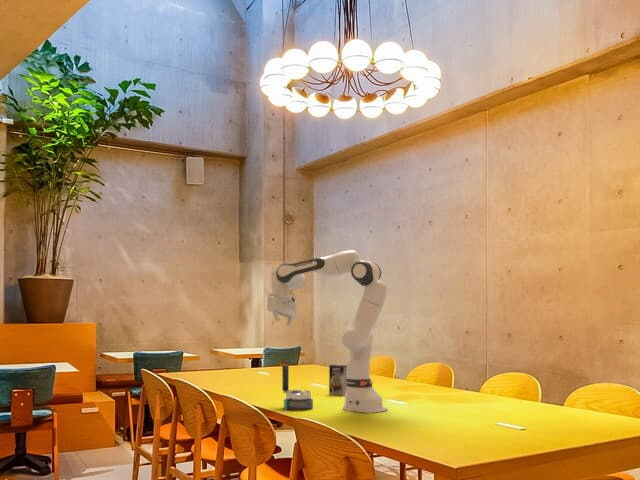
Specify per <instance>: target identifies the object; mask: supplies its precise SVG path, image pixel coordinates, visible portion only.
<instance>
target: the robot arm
mask: <svg viewBox="0 0 640 480" xmlns="http://www.w3.org/2000/svg"><path fill="white" fill-rule="evenodd" d="M308 273H317V274H320V275H324V276H327V277H331V278H332V277H334V278H335V277H340V276H342V275H346V274H348V273H350V274H351V276H352V278H353V279H354V280H355V282H357V283H358V284H360V285H361V286H362V287H364V290H363V293H362V295H361V299H360V302H359V303H358V307H357V309H356V311H355V314H354V315H353V317H352V319H351V321H350V322H349V324H348V326H347V328H346V330H345V331H344V332H343V334H342V336H341V342H342V345H343V346H344V348H345V349H347V350H349V354H348V359H347V361H346V365H347V378H346V386H347V389H346V393H345V395H344V405H343V406H342V410H344V411H351V412H357V413H364V414H373V413H381V412H386V411H389V410H388V408H387V407H385V406H383V399H382V396H381V395H380V394H379V393H378V392H377V391H376V389H375V388H374V387H373V384H374V380H371V377H370V375H371V374H370V373H371V372H370V371H371V370H370V363H371V354H372V353H371V352H372V348H373V342H374V334H373V332H372V330H373V327H374V326H375V324H376V323H377V321H378V319H379V316H380V314H381V311H382V308H383V306H384V304H385V300H386V298H387V297H386V296H387V292H388V287H387V286H388V285H386V283H385V282H384V281H382V280H380V279H381V278H382V277H381V276H382V269H381V267H380V266H379V265H378V264H376V263H375V262H372V261H369V260H362V258H361V255H360V254H359V253H358V252H357V251H356V250H355V249H354V250H353V249H352V250H344V251H340V252H337V253H335V254H330V255H328V256H321V257H316V258H309V259H306V260H302V261H298V262H292V263H291V262H284V263H281V264H280V265H279V266H278V267H277V268H274V269H273V270H272V271H271V275H270V276H271V278H270V282H271V283H270V284H271V287H272V292H271V293H269V294H268V296H267V301H266V302H267V303H266V307H267V311H268V312H270V313H272V315H273V317H274V321H275V322H280V320H281V319H280V317H279V316H281V317H284V318H285V319H287V320H288V321H286V325H287V326H292V320H294V319H297V317H298V309H297V305H296V303H297V300H296V298H294V297H293V295H292V294H290V291H293V290H299V289H301V288H303V287H304V285H305V283H306V275H305V274H308Z"/></svg>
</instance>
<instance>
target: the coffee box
mask: <svg viewBox="0 0 640 480" xmlns="http://www.w3.org/2000/svg"><path fill="white" fill-rule="evenodd" d="M328 370H329V371H328V373H329V376H328V377H329V378H328V381H329V382H328V384H329V385H328V387H329V389H328V390H329V391H328V395H330V396H331V395H332V396H344V397H345V393H346V389H347V386H346V378H347V364H346V365H345V364H343V365H342V364H329V369H328Z"/></svg>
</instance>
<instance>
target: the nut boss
mask: <svg viewBox="0 0 640 480" xmlns="http://www.w3.org/2000/svg"><path fill="white" fill-rule="evenodd" d="M313 403H314V399H313V398H311V400H308V401H289V399H286V398H284V399H283V409H284V410H285V411H295V410H300V411H310V410H313V407H314V404H313Z"/></svg>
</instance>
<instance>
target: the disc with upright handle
mask: <svg viewBox="0 0 640 480" xmlns="http://www.w3.org/2000/svg"><path fill="white" fill-rule="evenodd" d="M281 367H282V369H281V370H282V373H281V375H282V381H281V383H282V385H281V386H282V392H283V393H284V394H285V399H289V401H308V400H311V399H312V395H311V391H310V390H309V389H306V390H304V391H302V389H293V390H292V389H289V379H290V378H289V373H290V372H289V371H290V370H289V368H290V367H289V365H288V364H286V365H283V364H282V366H281Z"/></svg>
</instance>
